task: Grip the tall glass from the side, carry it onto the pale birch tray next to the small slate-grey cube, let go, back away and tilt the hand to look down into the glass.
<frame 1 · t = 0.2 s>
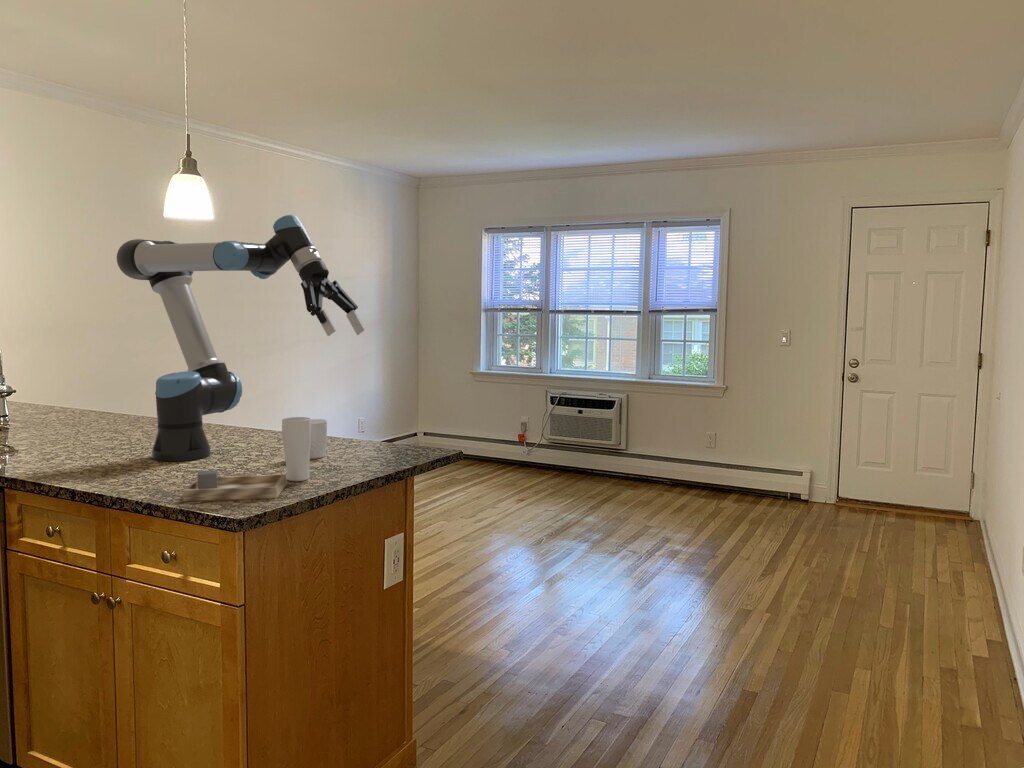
hand: (347, 332, 215), 35 cm above the counter, tool tilted 35°, fingers open, 13 cm apart
tray: (237, 492, 182), on the counter
white cup: (313, 457, 224), on the counter
drinking glass 2: (298, 480, 195), on the counter
cube: (208, 489, 182), point 1 cm above the counter, touching tray
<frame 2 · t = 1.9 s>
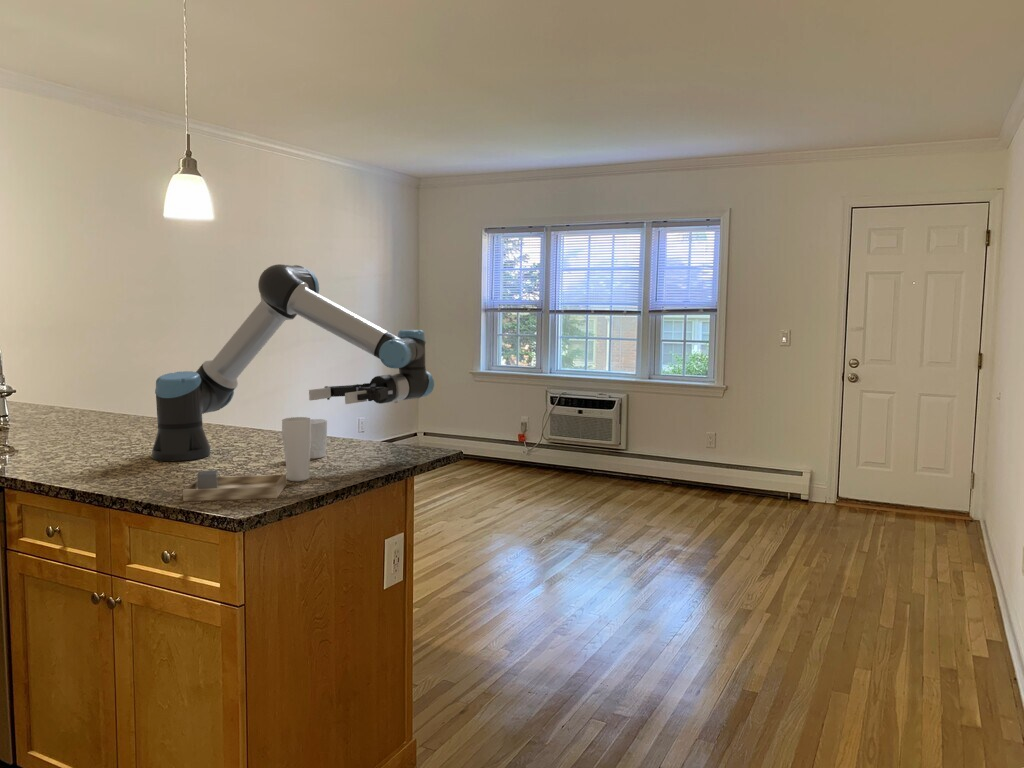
hand: (327, 396, 201), 19 cm above the counter, tool horizontal, fingers open, 13 cm apart
nothing on the counter moved.
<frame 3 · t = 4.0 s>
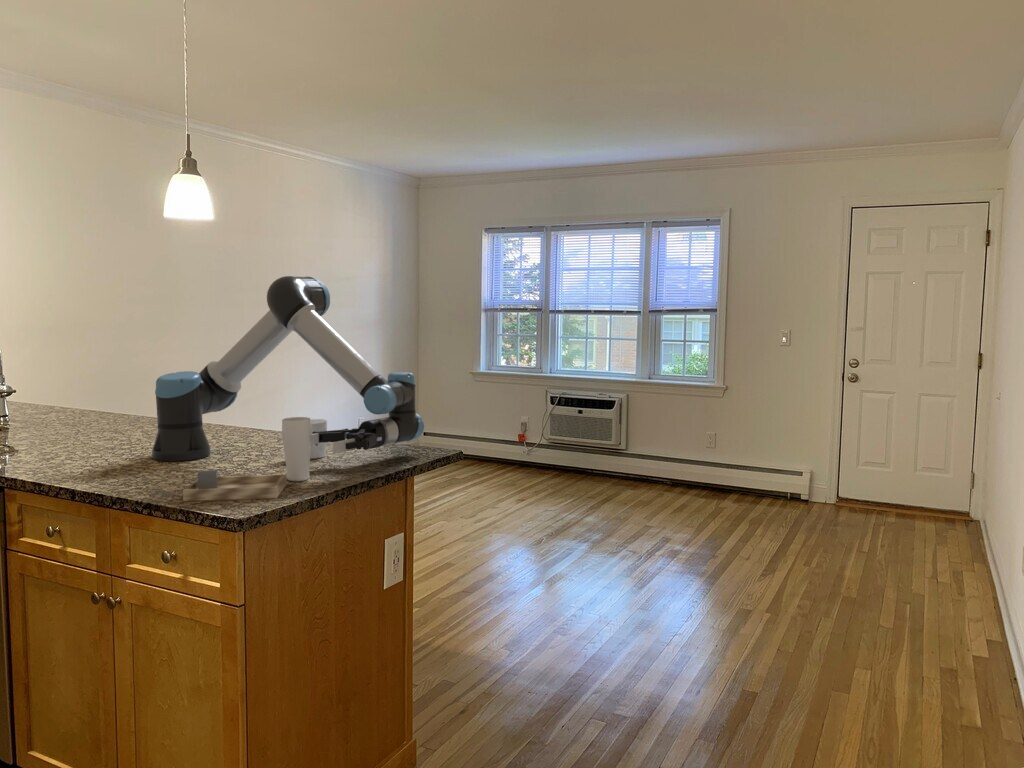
hand: (315, 445, 198), 8 cm above the counter, tool horizontal, fingers open, 13 cm apart
nothing on the counter moved.
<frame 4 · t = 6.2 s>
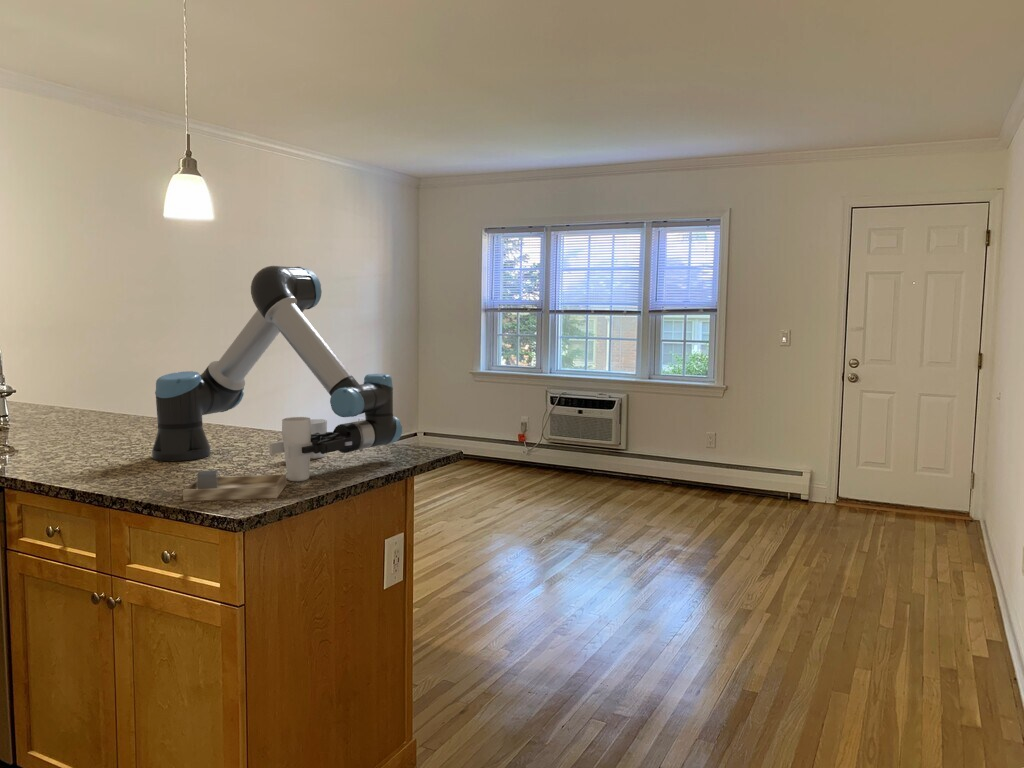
hand: (280, 450, 190), 8 cm above the counter, tool horizontal, fingers closed on drinking glass 2, 6 cm apart
drinking glass 2: (298, 480, 195), on the counter, touching gripper
everything else where it was.
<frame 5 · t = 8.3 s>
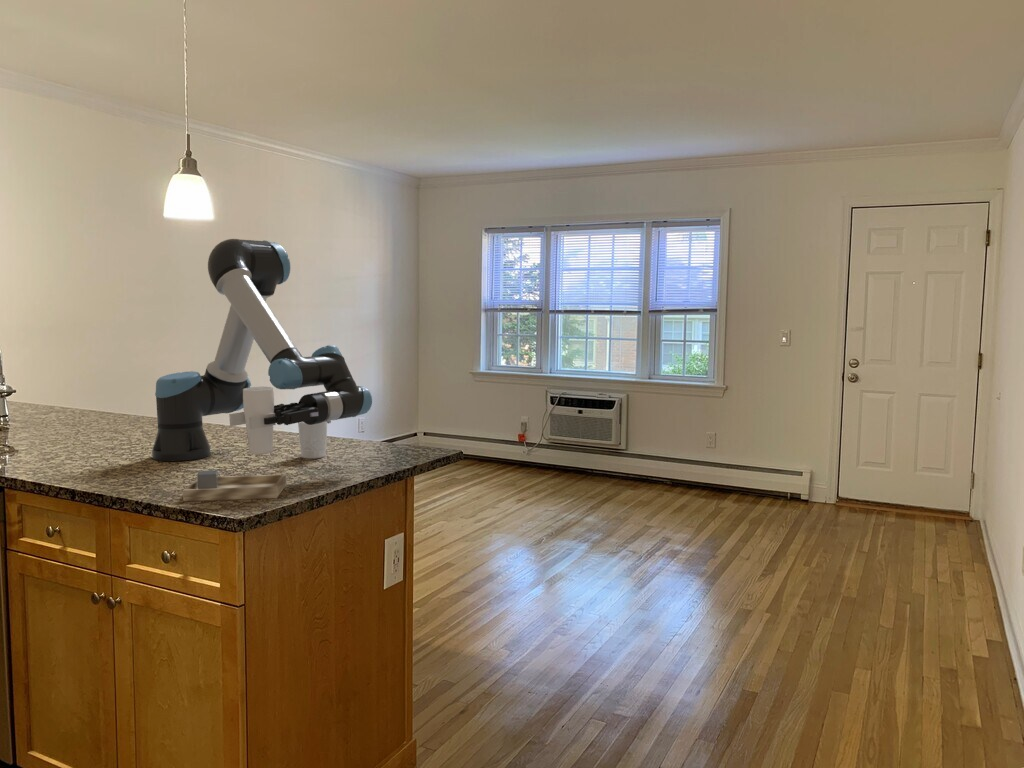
hand: (240, 421, 179), 17 cm above the counter, tool horizontal, fingers closed on drinking glass 2, 6 cm apart
drinking glass 2: (261, 453, 184), point 8 cm above the counter, touching gripper
everything else where it was.
when the fingers open (10 cm above the counter, at t = 10.4 s): drinking glass 2 stays where it is, resting on tray.
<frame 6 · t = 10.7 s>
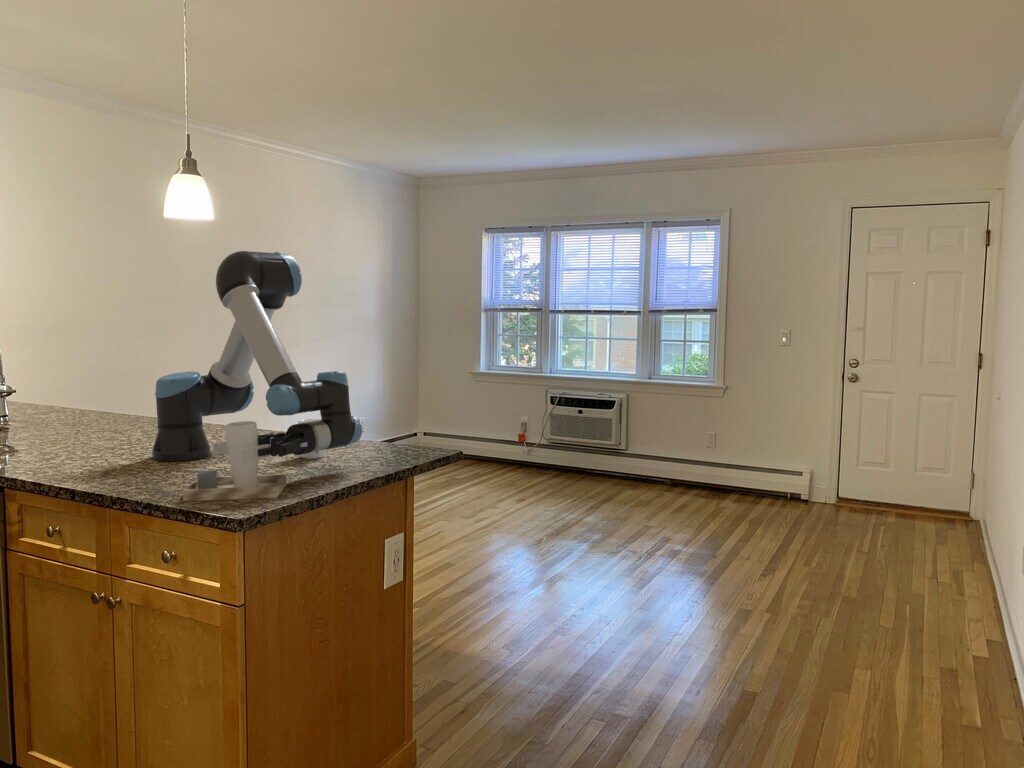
hand: (228, 451, 178), 10 cm above the counter, tool horizontal, fingers open, 10 cm apart
drinking glass 2: (246, 488, 183), point 1 cm above the counter, touching tray
everything else where it was.
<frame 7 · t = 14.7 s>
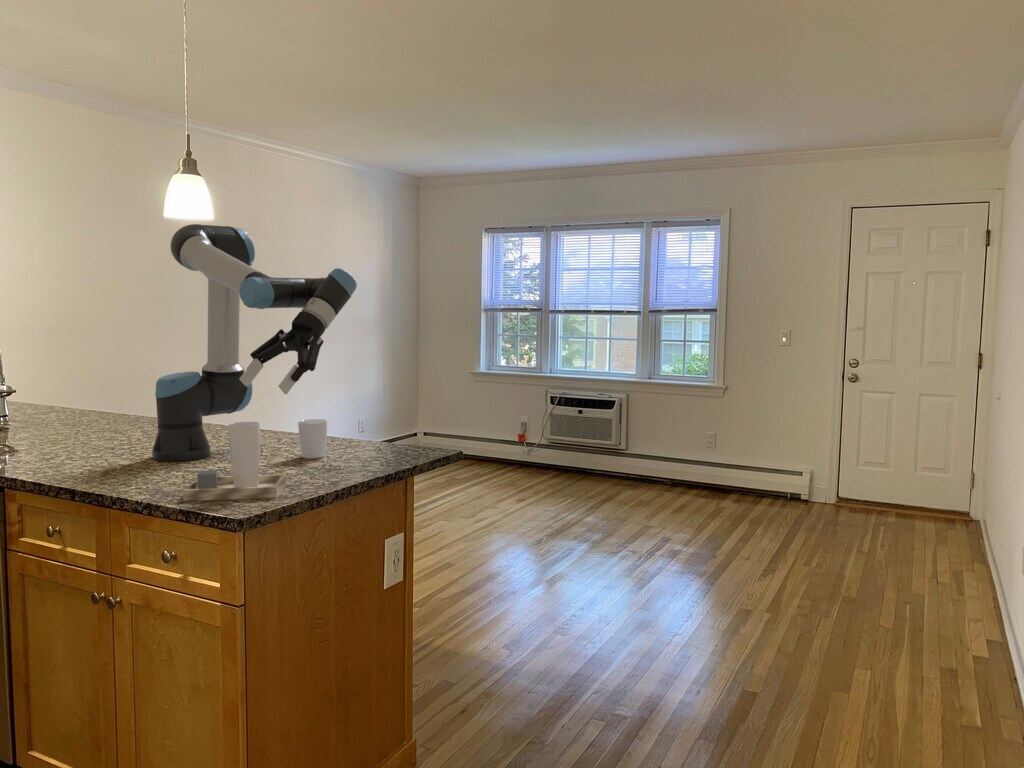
hand: (262, 386, 185), 24 cm above the counter, tool tilted 45°, fingers open, 13 cm apart
nothing on the counter moved.
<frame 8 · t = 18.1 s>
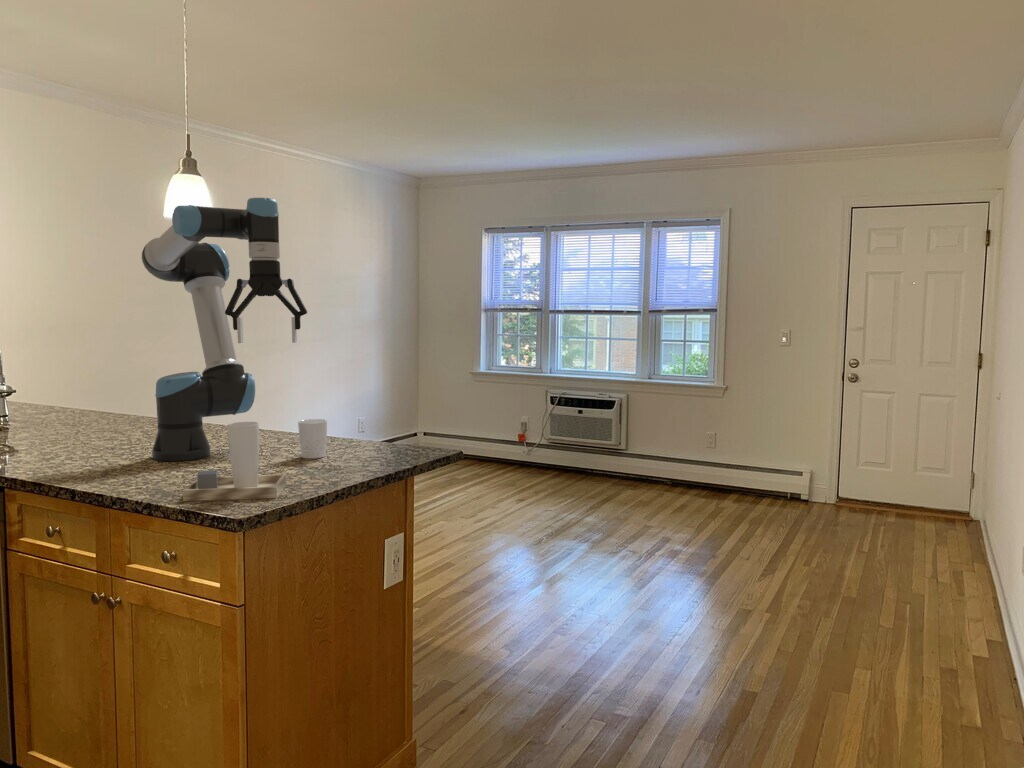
hand: (267, 342, 206), 33 cm above the counter, tool pointing down, fingers open, 13 cm apart
nothing on the counter moved.
at the end: drinking glass 2 inside the target area on the tray (0.2 cm from its centre), point 0.6 cm above the tray's base; drinking glass 2 tilted 0°; the gripper is holding nothing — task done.
